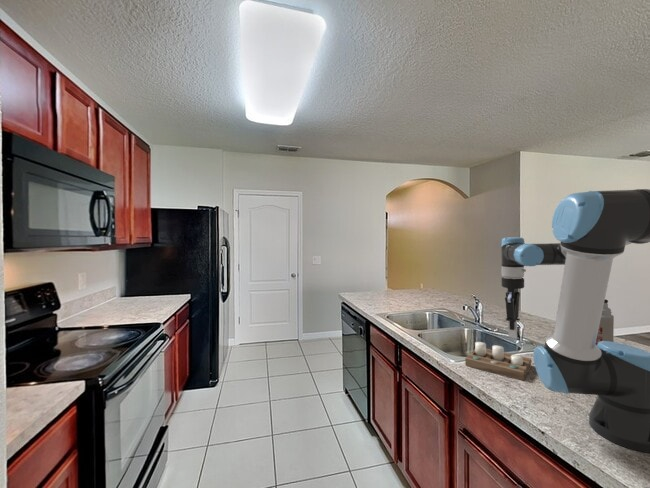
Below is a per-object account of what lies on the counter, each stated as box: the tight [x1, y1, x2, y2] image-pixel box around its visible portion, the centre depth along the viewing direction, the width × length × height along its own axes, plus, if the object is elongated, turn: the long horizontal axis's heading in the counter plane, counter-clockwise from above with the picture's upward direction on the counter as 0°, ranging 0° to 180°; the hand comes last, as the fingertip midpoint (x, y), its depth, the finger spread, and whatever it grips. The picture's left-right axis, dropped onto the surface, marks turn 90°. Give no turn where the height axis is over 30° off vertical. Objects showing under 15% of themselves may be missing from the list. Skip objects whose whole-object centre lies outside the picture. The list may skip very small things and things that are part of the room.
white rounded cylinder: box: [474, 341, 487, 357], centre depth 127 cm, size 4×4×5 cm
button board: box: [464, 348, 532, 381], centre depth 123 cm, size 16×20×3 cm
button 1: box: [511, 354, 524, 366], centre depth 119 cm, size 4×4×5 cm
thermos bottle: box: [596, 298, 615, 345], centre depth 114 cm, size 8×8×28 cm
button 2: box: [491, 344, 505, 361], centre depth 123 cm, size 4×4×5 cm
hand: (512, 337), depth 120 cm, fingers closed
